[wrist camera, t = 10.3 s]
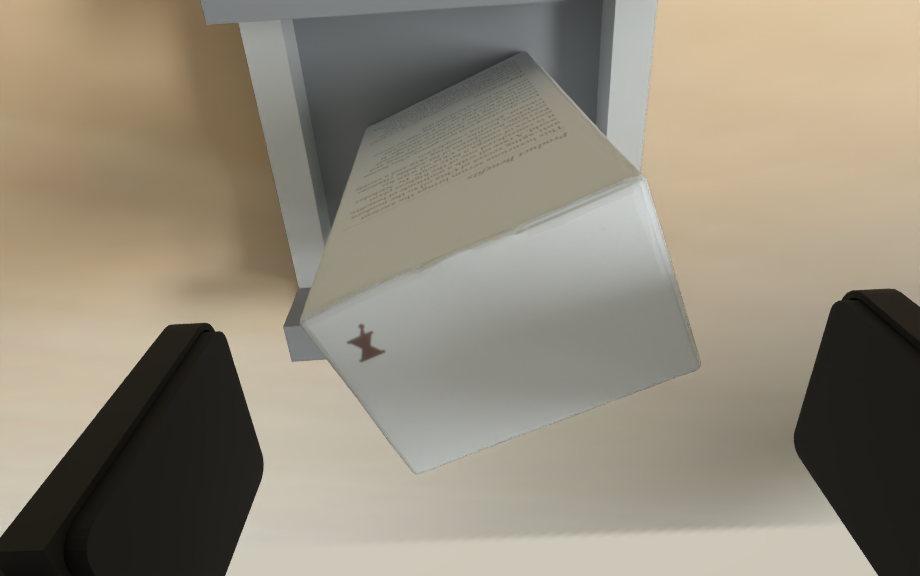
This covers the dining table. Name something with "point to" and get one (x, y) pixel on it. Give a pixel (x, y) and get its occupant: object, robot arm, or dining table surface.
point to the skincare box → (494, 270)
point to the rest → (414, 85)
